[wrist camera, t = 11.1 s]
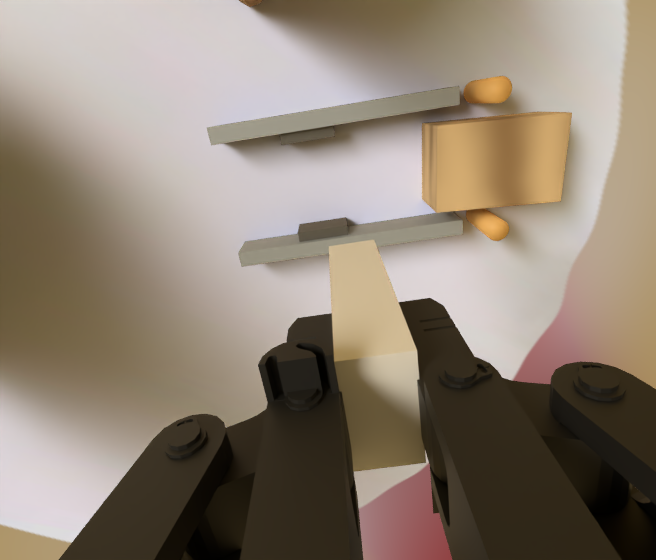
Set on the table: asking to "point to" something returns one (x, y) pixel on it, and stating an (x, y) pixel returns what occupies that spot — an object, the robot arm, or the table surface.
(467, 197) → the oak block
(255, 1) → the wooden block
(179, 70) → the table surface
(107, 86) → the table surface
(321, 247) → the chute
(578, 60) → the table surface
